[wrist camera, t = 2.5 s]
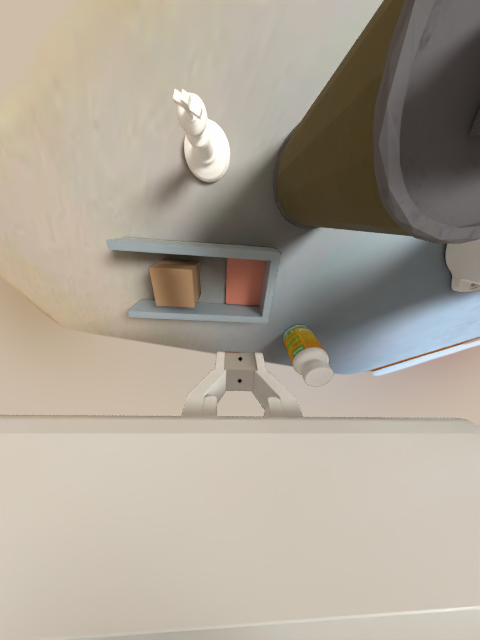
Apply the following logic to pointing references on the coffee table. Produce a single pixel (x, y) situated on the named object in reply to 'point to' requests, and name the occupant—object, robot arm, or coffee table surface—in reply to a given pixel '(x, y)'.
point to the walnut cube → (176, 282)
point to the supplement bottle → (307, 356)
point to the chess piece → (201, 138)
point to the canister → (394, 130)
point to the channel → (241, 283)
